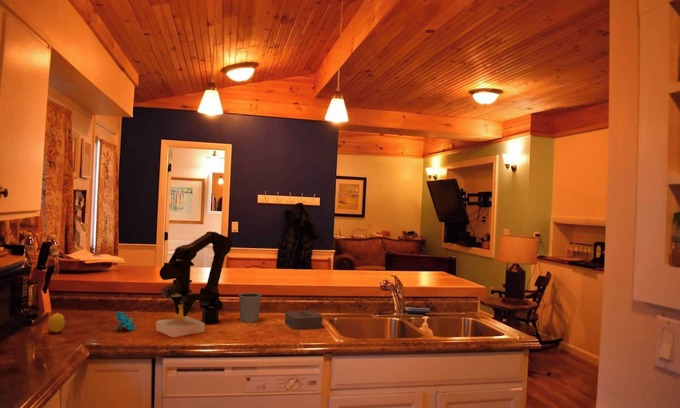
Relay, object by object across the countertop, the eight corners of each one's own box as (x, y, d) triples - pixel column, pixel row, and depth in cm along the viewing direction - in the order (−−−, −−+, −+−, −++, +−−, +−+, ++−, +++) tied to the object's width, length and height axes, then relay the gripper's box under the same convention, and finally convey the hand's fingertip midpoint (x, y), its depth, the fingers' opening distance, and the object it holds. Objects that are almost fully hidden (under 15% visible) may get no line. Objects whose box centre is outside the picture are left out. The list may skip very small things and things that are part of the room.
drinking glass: (264, 320, 224) (265, 294, 225) (249, 324, 216) (250, 297, 216) (248, 317, 230) (249, 292, 230) (233, 320, 221) (234, 294, 222)
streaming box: (324, 328, 216) (324, 316, 216) (293, 330, 209) (294, 318, 209) (311, 321, 229) (312, 310, 229) (283, 322, 222) (283, 311, 223)
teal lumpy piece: (129, 329, 191) (114, 310, 192) (117, 340, 190) (102, 321, 192) (141, 327, 202) (126, 309, 203) (130, 336, 201) (115, 318, 203)
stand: (187, 325, 209) (187, 316, 209) (204, 331, 199) (204, 322, 199) (156, 330, 199) (156, 320, 199) (172, 337, 189) (173, 327, 189)
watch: (185, 321, 197) (185, 306, 197) (177, 321, 196) (178, 307, 195) (183, 316, 202) (184, 302, 202) (176, 317, 201) (177, 303, 201)
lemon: (67, 332, 189) (68, 312, 189) (53, 335, 184) (55, 314, 184) (58, 330, 191) (59, 310, 191) (44, 333, 186) (45, 312, 186)
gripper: (153, 275, 200) (152, 313, 200) (175, 282, 187) (173, 322, 187) (178, 274, 208) (176, 310, 208) (201, 279, 195) (199, 318, 195)
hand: (181, 314), depth 199 cm, fingers open, 6 cm apart
